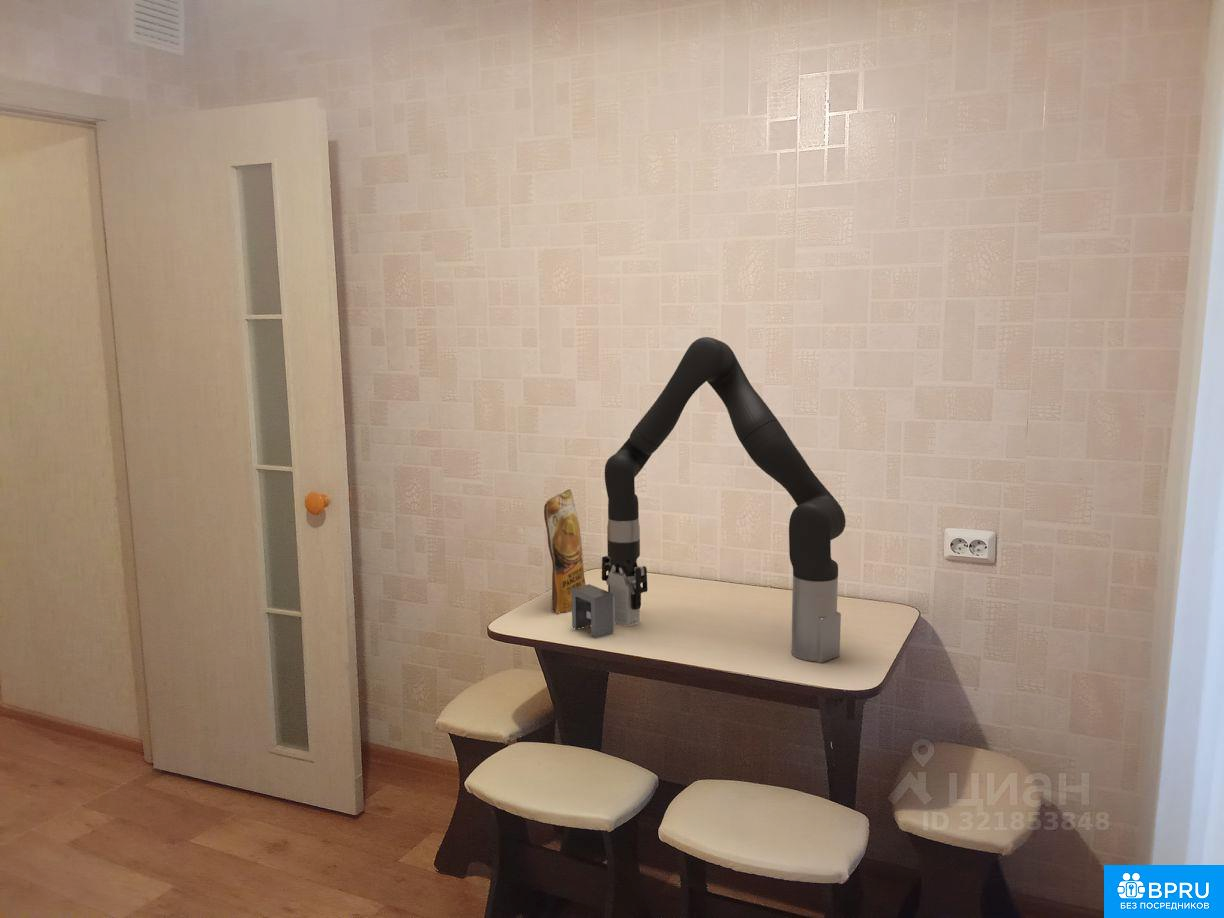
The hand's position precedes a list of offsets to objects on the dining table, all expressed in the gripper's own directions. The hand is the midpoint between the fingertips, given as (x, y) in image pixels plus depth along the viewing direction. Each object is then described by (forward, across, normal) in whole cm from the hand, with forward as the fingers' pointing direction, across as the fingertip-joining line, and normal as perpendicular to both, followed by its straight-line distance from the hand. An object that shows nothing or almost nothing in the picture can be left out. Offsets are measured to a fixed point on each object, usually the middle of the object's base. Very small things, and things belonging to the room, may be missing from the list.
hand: (624, 604), depth 215 cm
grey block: (+4, +2, +7) cm, 9 cm away
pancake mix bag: (+4, +19, +3) cm, 20 cm away
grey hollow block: (+4, +2, +6) cm, 8 cm away
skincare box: (+4, 0, 0) cm, 5 cm away
